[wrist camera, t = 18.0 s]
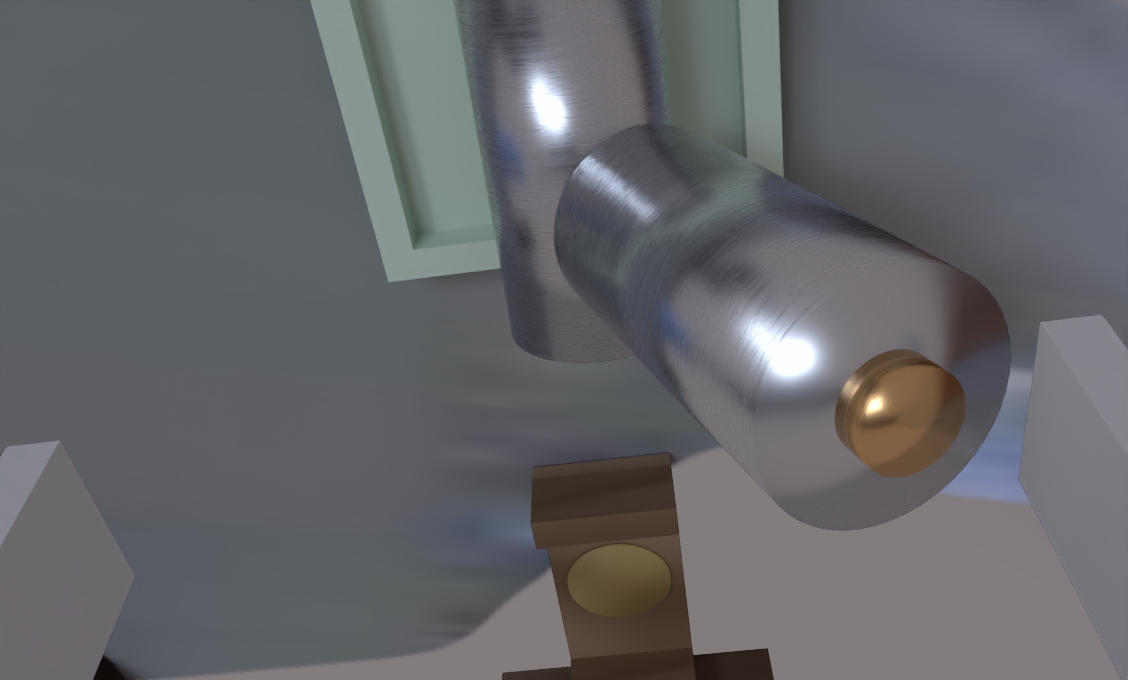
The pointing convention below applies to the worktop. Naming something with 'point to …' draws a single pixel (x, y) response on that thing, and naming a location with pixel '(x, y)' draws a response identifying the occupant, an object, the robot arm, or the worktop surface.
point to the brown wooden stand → (622, 575)
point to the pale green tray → (447, 128)
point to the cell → (786, 324)
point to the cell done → (554, 139)
